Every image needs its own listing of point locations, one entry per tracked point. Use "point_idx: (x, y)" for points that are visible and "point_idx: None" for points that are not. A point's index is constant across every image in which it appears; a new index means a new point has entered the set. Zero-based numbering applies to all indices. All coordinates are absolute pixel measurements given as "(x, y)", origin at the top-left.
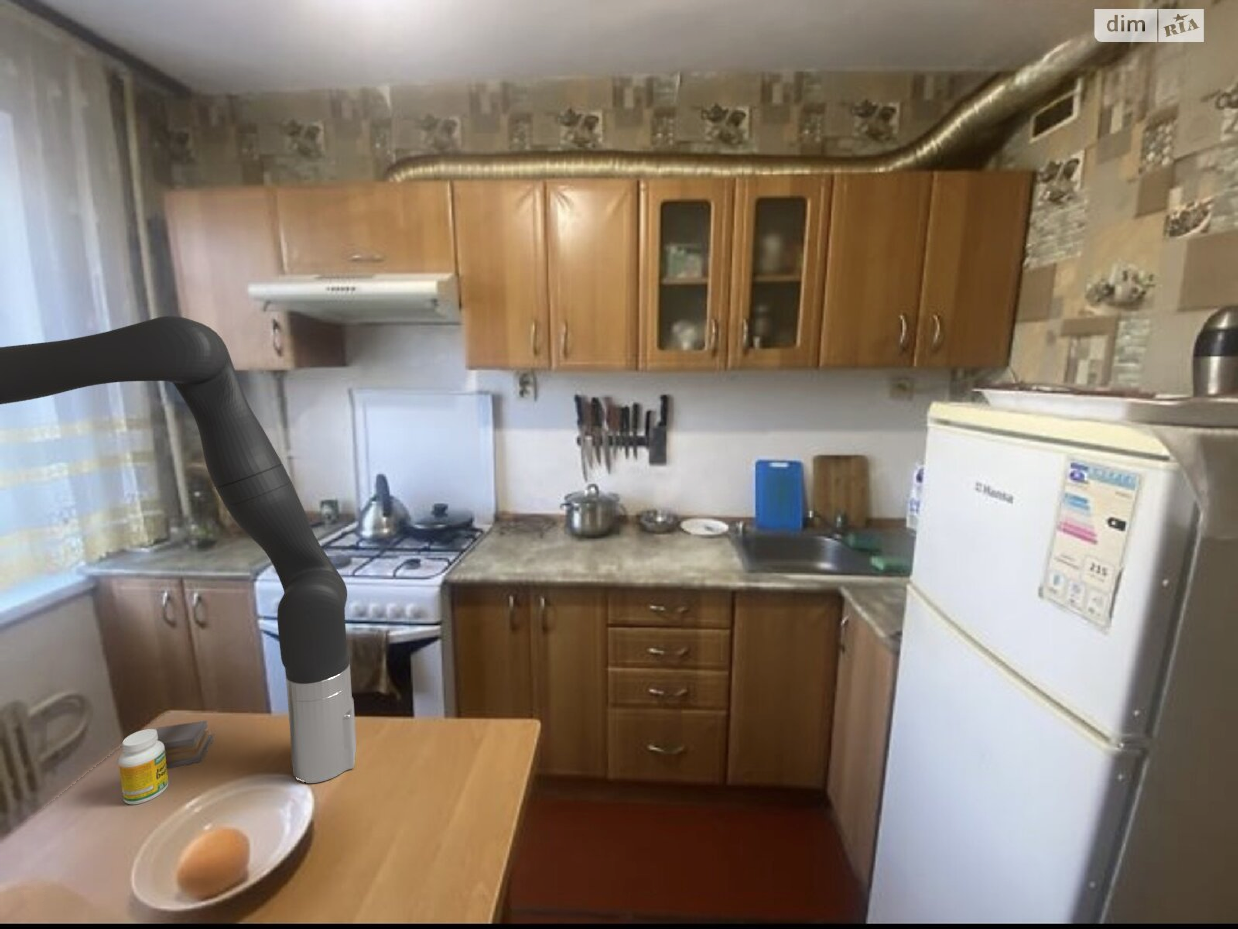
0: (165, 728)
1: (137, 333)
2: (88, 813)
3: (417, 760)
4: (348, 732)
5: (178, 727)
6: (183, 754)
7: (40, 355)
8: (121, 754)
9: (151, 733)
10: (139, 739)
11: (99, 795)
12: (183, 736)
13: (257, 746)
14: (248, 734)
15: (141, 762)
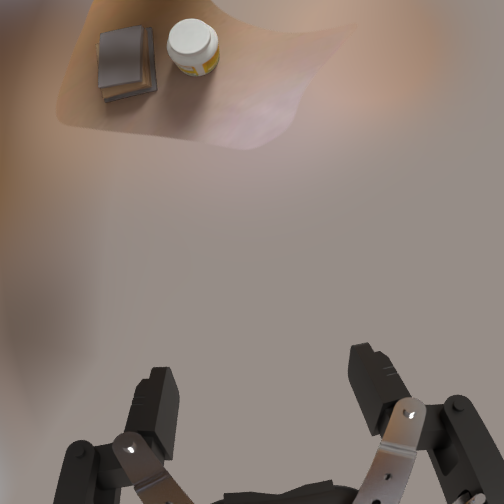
0: (103, 75)
1: None
2: (218, 101)
3: None
4: None
5: (105, 60)
6: (146, 41)
7: None
8: (193, 63)
9: (184, 25)
10: (196, 32)
11: (186, 108)
12: (131, 40)
13: None
14: (110, 6)
15: (215, 33)
